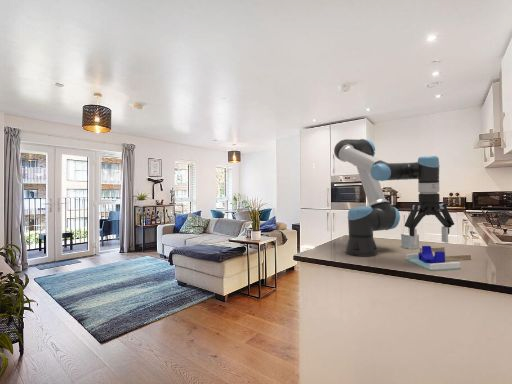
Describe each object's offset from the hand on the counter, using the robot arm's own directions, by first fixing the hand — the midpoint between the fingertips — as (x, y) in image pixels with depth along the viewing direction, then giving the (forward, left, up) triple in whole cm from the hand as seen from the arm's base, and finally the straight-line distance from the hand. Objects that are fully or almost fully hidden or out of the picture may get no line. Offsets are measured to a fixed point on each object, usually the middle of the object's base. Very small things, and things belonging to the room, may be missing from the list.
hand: (429, 243), depth 116 cm
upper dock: (-11, +14, -9) cm, 20 cm away
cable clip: (+1, 0, -9) cm, 9 cm away
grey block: (-30, +10, -9) cm, 33 cm away
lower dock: (0, 0, -9) cm, 9 cm away
